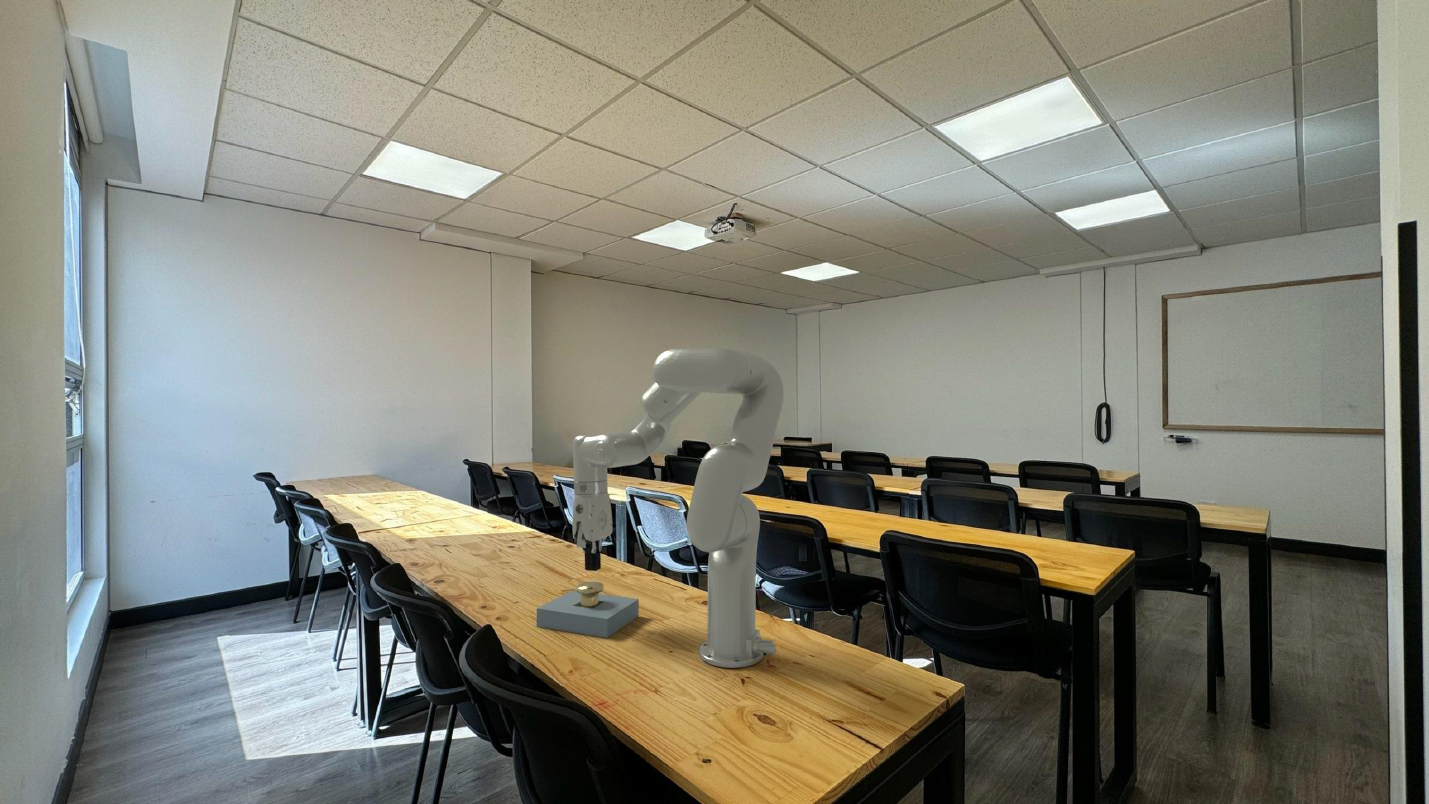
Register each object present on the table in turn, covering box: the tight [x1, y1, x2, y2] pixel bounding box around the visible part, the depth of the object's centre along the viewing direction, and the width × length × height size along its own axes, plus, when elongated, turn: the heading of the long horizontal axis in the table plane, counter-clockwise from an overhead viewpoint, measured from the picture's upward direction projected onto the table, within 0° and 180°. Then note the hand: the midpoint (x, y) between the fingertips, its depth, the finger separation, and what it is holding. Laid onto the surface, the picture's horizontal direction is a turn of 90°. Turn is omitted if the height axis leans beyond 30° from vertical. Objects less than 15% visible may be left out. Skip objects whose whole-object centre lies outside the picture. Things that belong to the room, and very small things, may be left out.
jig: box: [536, 589, 640, 639], centre depth 131 cm, size 18×14×4 cm
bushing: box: [576, 581, 605, 609], centre depth 131 cm, size 6×6×8 cm
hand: (592, 569), depth 131 cm, fingers closed
